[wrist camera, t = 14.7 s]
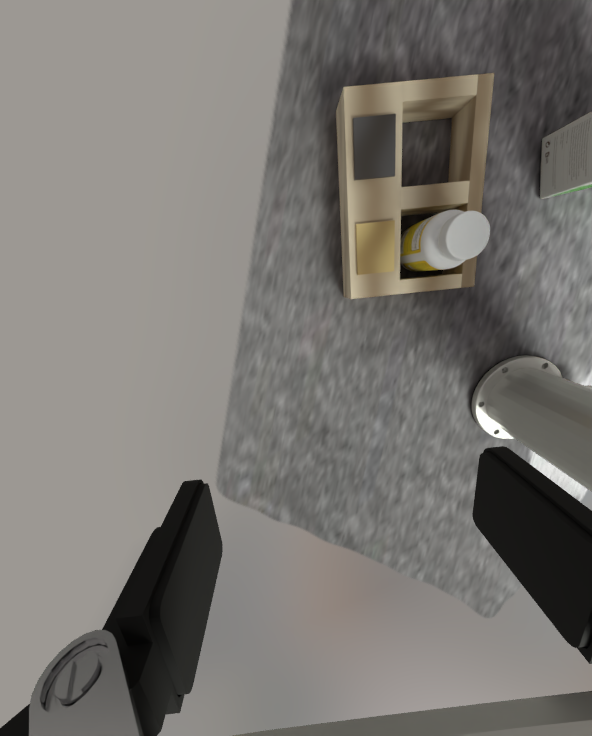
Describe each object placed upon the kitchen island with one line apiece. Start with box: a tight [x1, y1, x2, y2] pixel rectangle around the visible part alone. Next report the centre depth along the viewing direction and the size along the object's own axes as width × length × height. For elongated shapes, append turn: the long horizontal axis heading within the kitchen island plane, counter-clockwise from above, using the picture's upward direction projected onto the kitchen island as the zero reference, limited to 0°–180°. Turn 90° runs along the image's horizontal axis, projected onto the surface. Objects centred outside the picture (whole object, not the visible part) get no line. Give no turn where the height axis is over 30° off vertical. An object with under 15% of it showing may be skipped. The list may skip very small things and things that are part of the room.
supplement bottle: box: [400, 210, 490, 272], centre depth 29 cm, size 5×5×10 cm
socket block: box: [336, 73, 494, 299], centre depth 30 cm, size 14×19×4 cm
